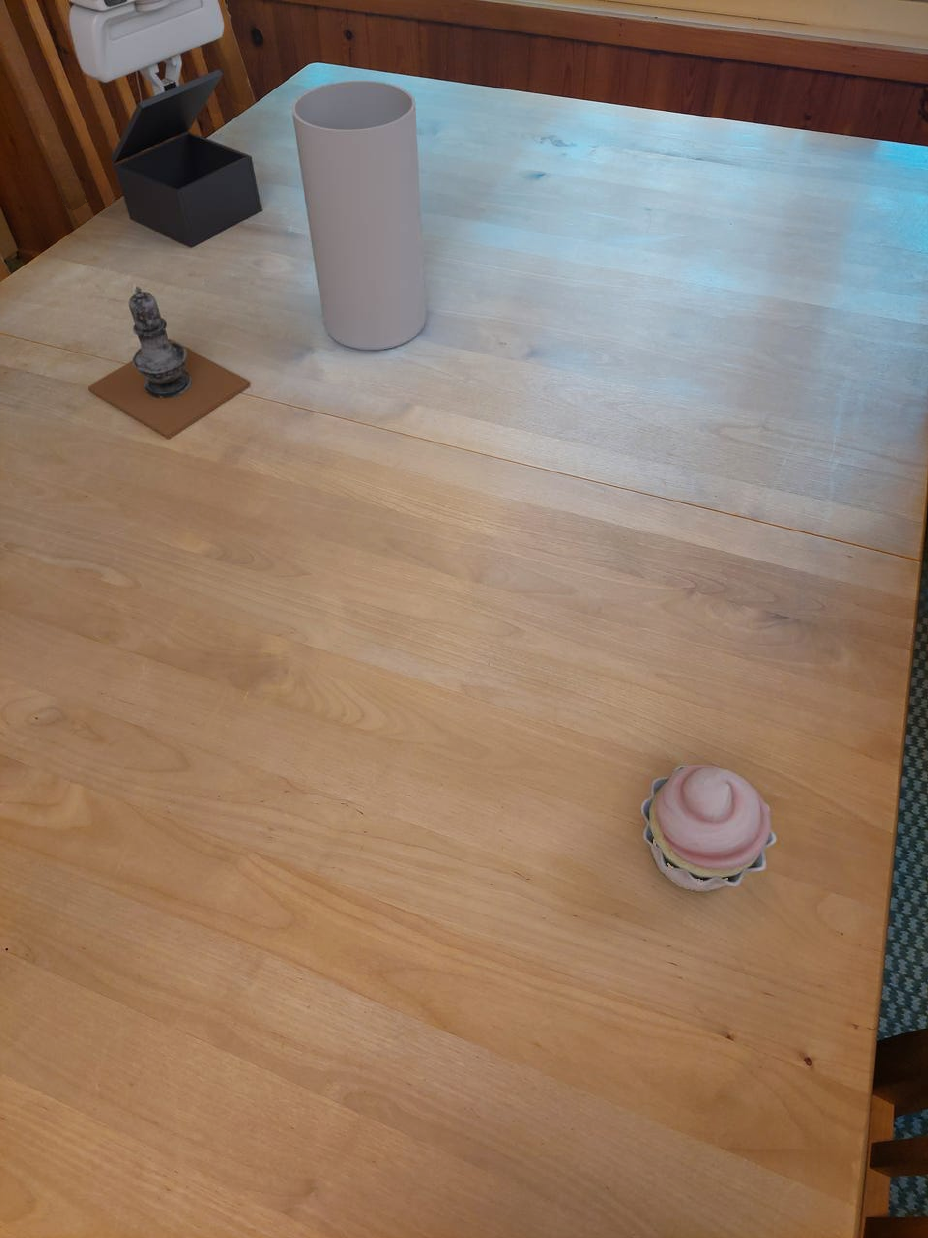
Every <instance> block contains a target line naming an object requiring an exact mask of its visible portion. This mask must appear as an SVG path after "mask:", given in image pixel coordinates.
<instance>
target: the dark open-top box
mask: <svg viewBox="0 0 928 1238" xmlns="http://www.w3.org/2000/svg"><path fill="white" fill-rule="evenodd" d="M254 166H255V165H254V162H253V156H252V155H249V154H247V153H244V152H242V151H240V150H237V149H234V148H233V147H232V148H231V147H229V146H227V145H224V144H222V143H219V142H217V141H215V140H211V139H210V138H209V139H208V138H206V137H204V136H201V135H198V134H197V133H193V132H191V131H187V132H184V133H182V134H180V135H178V136H175V137H173V138H171V139H169V140H166V141H164V142H162V143H160V144H157V145H155V146H153V147H151V148H149V149H146V150H144V151H142V152H140V153H137V154H135V155H133V156H131V157H128V158H126V159H124V160H122V161H119V162H117V163H115V164H114V163H113V167H114V170H115V171H114V172H115V173H116V177H117V181H118V184H119V187H120V190H121V194H122V197H123V200H124V203H125V206H126V209H127V210H126V211H127V213H128V217H129V220H131V221H132V222H135V223H137V224H140V225H142V226H144V227H146V228H148V229H150V230H152V231H155V232H157V233H158V234H161V235H163V236H165V237H168V239H169V238H170V239H171V240H174V241H176V242H178V243H180V244H183V245H184V246H187V247H189V248H191V249H192V248H194V247H196V246H198V245H199V244H201V243H203V242H205V241H207V240H209V239H211V238H212V237H214V236H217V235H218V234H220V233H223V232H224V231H226V230H228V229H230V228H231V227H233V226H236V225H237V224H240V223H241V222H243V221H245V220H246V219H249V218H250V217H252V216H254V215H257V214H258V213H260V212H262V211H263V208H262V203H261V199H260V194H259V188H258V183H257V178H256V172H255V167H254Z"/></svg>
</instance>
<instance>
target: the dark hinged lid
mask: <svg viewBox="0 0 928 1238" xmlns="http://www.w3.org/2000/svg"><path fill="white" fill-rule="evenodd" d="M223 76H224V73H223V72H222V70H221V68H220V69H219V68H218V69H216V70H213V71H211V72H209V73H207V74H204V75H201V76H199V77H196V78H195V79H192V80H189V81H186V82H185V83H182V84H179V86H177V87H175V88H172V89H170V90H167V91H165V92H163V93H160V94H158V95H155V96H154V95H153V96H150V97H148V98H146V99H143V100H141V101H139V102H138V103H137V105H136V107H135V109H134V111H133V113H132V115H131V117H130V119H129V121H128V123H127V125H126V127H125V129H124V131H123V133H122V134H121V137H120V139H119V140H118V143H117V145H116V147H115V149H114V151H113V152H112V155H111V157H110V160H111V162H113V165H114V164H117V163H119V162H121V161H123V160H126V159H128V158H130V157H132V156H135V155H137V154H139V153H141V152H144V151H146V150H148V149H150V148H152V147H155V146H157V145H159V144H161V143H164V142H166V141H168V140H170V139H173V138H175V137H177V136H179V135H182V134H184V133H186V132H190V130H191V128H192V127H193V125H194V123H195V122H196V120H197V118H198V116H200V113H201V111H202V110H203V108H204V107H205V105H206V104H207V102H208V101H209V99H210V97H211V95H212V94H213V92H214V91H215V89H216V88H217V85H218V84H219V82H220V81H221V79H222V78H223Z"/></svg>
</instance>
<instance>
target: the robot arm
mask: <svg viewBox="0 0 928 1238" xmlns="http://www.w3.org/2000/svg"><path fill="white" fill-rule="evenodd" d="M67 1H68V2H70V3H72V6H71V8H70V10H69V16H68V17H69V18H68V22H69V27H70V33H71V38H72V41H73V47H74V49H75V53H76V57H77V60H78V63H79V66H80V68H81V70H82V71H83V73H84V74H86V75H87V76H88V77H89V78H91V79H92V80H95V81H97V82H101V83H103V84H108V83H111V82H112V81H115V80H118V79H120V78H122V77H125V76H128V75H130V74H133V73H136V72H138V71H139V73H140V74H141V75H142V76H143V77H144V78H145V80H146V81H147V82H148V83H149V84H150V85H151V88H152V91H153V96H155V95H158V94H160V93H163V92H165V91H167V90H170V89H172V88H175V87H177V86H180V83H179V82H180V81H179V80H180V75H181V72H182V65H183V62H182V57H181V54H183V53H186V52H188V51H191V50H194V49H196V48H199V47H202V46H203V45H206V44H209V43H212V42H214V41H216V40H219V39H221V38H222V37H223V34H224V32H225V31H224V30H225V21H224V17H223V14H222V13H223V12H222V10H221V6H220V3H219V0H67ZM160 62H161V63H164V64H166V65H165V75H164V78H163V79H160V77H159V76H158V75H157V73H159V72H160V69H159V66H158V63H160Z"/></svg>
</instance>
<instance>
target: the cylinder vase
mask: <svg viewBox="0 0 928 1238" xmlns="http://www.w3.org/2000/svg"><path fill="white" fill-rule="evenodd" d="M416 111H417V109H416V99H415V98H414V96H413V95H412V93H411V92H410V91H408V90H406V89H404V88H403V87H401V86H399V85H395V84H392V83H388V82H387V83H386V82H383V81H375V80H346V81H345V80H344V81H338V82H332V83H327V84H323V85H320V86H317V87H314V88H312V89H310V90H307V91H305V92H303V93H302V94H300V95H299V96H297V98H295V100H294V101H293V103H292V105H291V115H292V121H293V128H294V135H295V142H296V147H297V154H298V161H299V167H300V175H301V181H302V187H303V195H304V201H305V208H306V214H307V221H308V227H309V235H310V242H311V247H312V255H313V260H314V267H315V273H316V280H317V288H318V295H319V301H320V307H321V313H322V321H323V326H324V328H325V331H326V332H327V334H328V335H329V336H330V337H331V338H332V339H333V340H334V341H335V342H337V343H338V344H341V345H342V346H345V347H348V348H351V349H355V350H359V351H361V350H362V351H383V350H388V349H392V348H396V347H400V346H401V345H404V344H406V343H408V342H410V341H411V340H413V339H414V338H415V337H416V336H418V335H419V334H420V333H421V332H422V330H423V328H424V326H425V324H426V320H427V306H426V303H427V302H426V287H425V284H426V283H425V266H424V249H423V247H424V246H423V228H422V209H421V207H422V205H421V189H420V188H421V187H420V186H421V185H420V173H419V172H420V171H419V150H418V148H419V147H418V129H417V112H416Z"/></svg>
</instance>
